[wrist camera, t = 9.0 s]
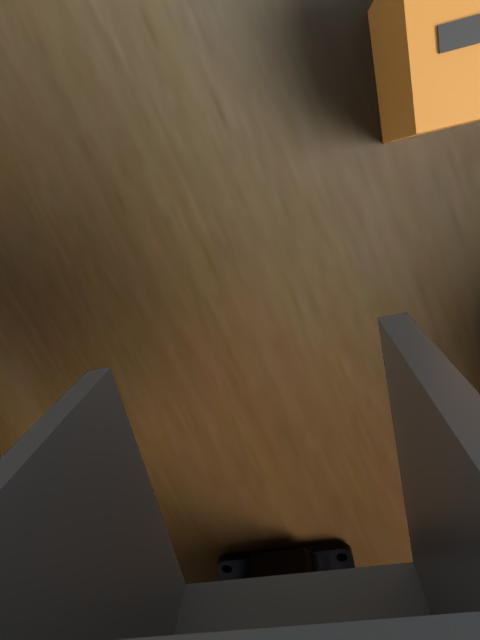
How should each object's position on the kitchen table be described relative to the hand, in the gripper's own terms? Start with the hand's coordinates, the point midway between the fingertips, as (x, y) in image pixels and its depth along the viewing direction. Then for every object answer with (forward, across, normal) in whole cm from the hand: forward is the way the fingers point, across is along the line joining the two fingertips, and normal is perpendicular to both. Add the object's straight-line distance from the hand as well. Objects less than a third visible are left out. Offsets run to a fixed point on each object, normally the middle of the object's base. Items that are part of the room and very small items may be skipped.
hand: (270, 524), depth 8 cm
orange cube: (+10, -7, -8) cm, 15 cm away
